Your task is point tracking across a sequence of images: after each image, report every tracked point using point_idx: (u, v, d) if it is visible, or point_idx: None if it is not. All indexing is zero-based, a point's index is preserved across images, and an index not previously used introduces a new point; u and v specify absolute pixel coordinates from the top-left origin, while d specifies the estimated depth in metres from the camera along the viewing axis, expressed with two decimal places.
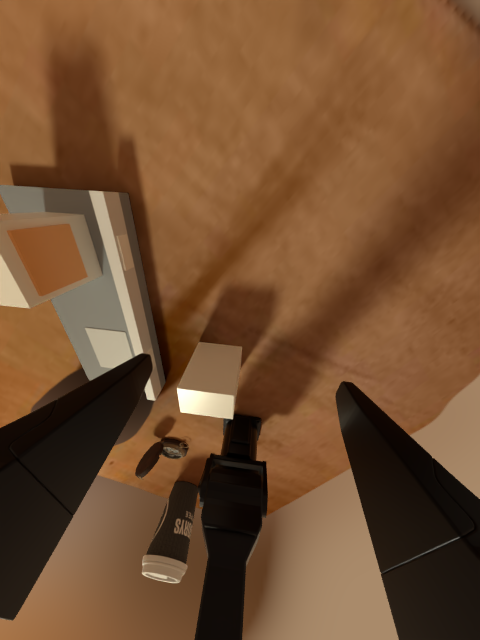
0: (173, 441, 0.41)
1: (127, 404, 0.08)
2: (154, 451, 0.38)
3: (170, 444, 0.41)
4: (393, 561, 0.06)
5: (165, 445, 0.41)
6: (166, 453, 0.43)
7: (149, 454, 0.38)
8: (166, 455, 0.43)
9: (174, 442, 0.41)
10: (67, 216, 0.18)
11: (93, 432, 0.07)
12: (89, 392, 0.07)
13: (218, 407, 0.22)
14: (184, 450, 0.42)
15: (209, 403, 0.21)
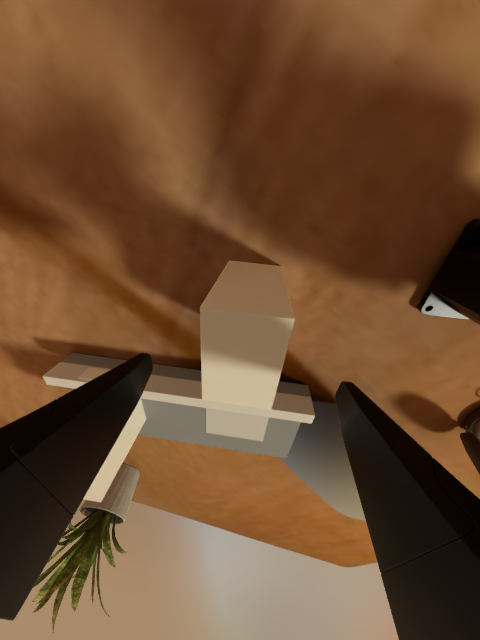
0: (477, 413, 0.20)
1: (127, 404, 0.08)
2: (472, 454, 0.19)
3: None
4: (393, 561, 0.06)
5: (479, 429, 0.20)
6: None
7: (476, 464, 0.19)
8: None
9: None
10: None
11: (93, 432, 0.07)
12: (89, 392, 0.07)
13: (248, 344, 0.09)
14: None
15: (237, 359, 0.10)
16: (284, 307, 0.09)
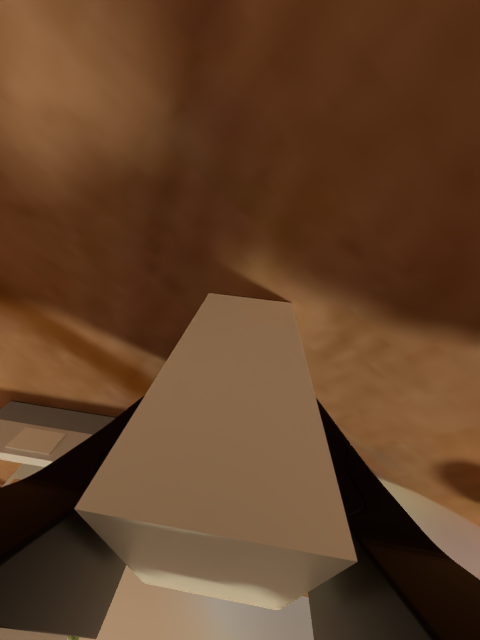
0: None
1: None
2: None
3: None
4: None
5: None
6: None
7: None
8: None
9: None
10: (15, 473, 0.16)
11: None
12: None
13: (222, 564, 0.04)
14: None
15: (200, 570, 0.04)
16: (315, 473, 0.04)
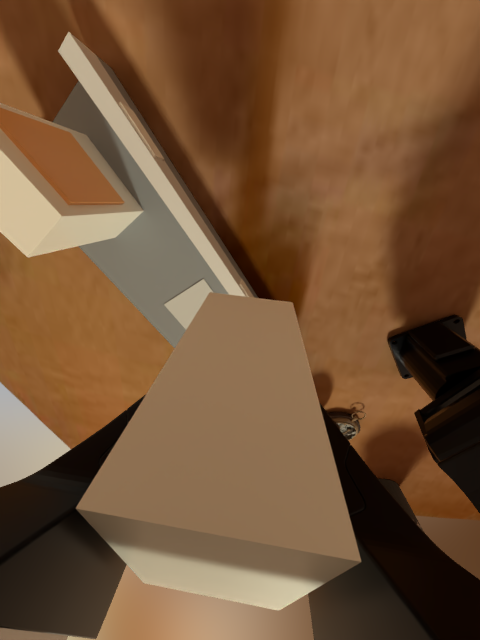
0: (339, 413, 0.29)
1: None
2: None
3: (337, 418, 0.29)
4: None
5: None
6: None
7: None
8: None
9: (342, 414, 0.29)
10: (65, 129, 0.14)
11: None
12: None
13: (224, 564, 0.04)
14: (358, 424, 0.29)
15: (201, 571, 0.04)
16: (318, 473, 0.03)
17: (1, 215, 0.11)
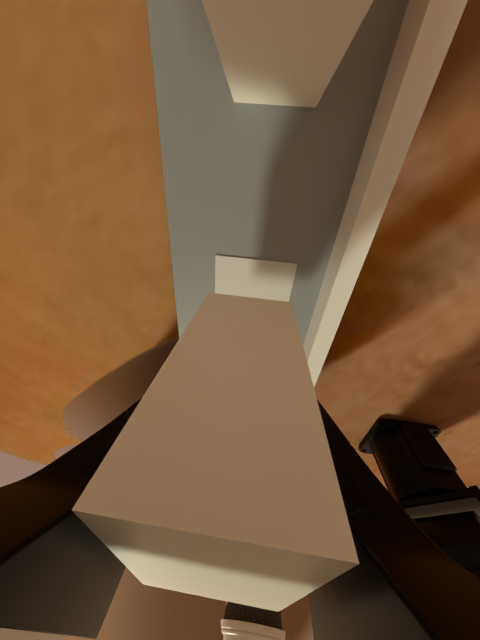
0: None
1: None
2: None
3: None
4: None
5: None
6: None
7: None
8: None
9: None
10: None
11: None
12: None
13: (222, 565, 0.04)
14: None
15: (199, 571, 0.04)
16: (316, 473, 0.03)
17: None
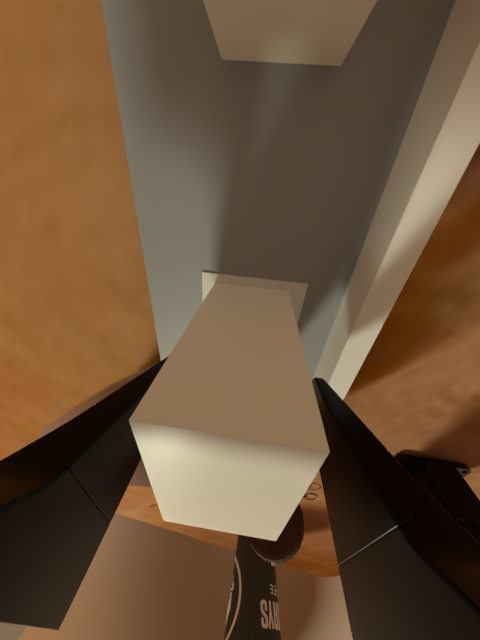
0: None
1: None
2: None
3: None
4: (348, 553, 0.06)
5: None
6: None
7: None
8: None
9: None
10: None
11: (129, 438, 0.07)
12: (125, 398, 0.07)
13: (233, 475, 0.05)
14: None
15: (214, 490, 0.05)
16: (303, 405, 0.05)
17: None
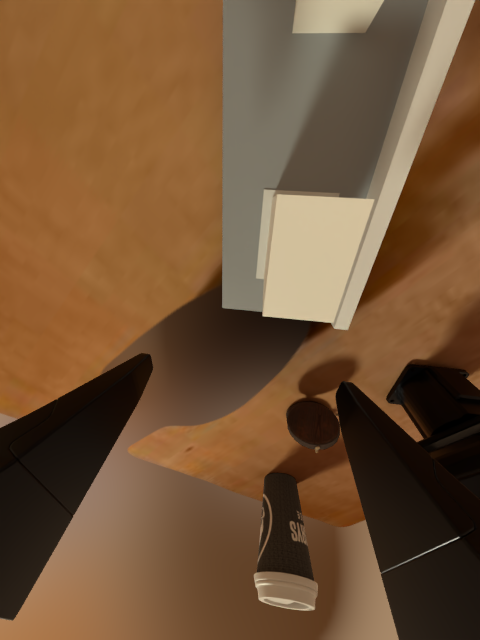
0: None
1: (127, 404, 0.08)
2: (326, 415, 0.25)
3: None
4: (394, 561, 0.06)
5: None
6: None
7: (314, 417, 0.25)
8: None
9: None
10: None
11: (93, 432, 0.07)
12: (89, 392, 0.07)
13: (320, 238, 0.09)
14: None
15: (306, 260, 0.10)
16: None
17: None
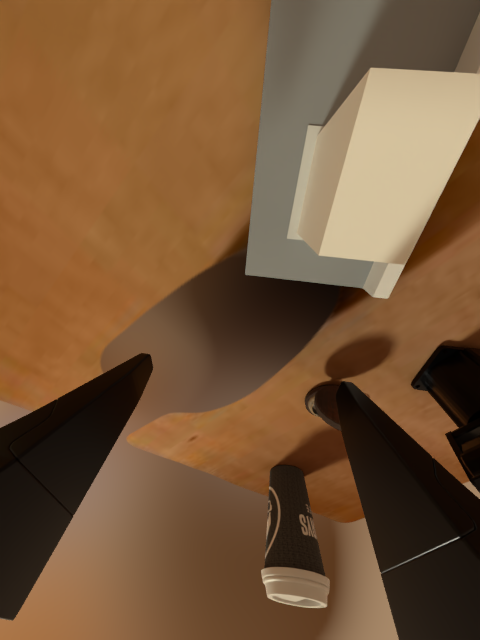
0: None
1: (127, 404, 0.08)
2: None
3: None
4: (393, 561, 0.06)
5: None
6: None
7: None
8: None
9: None
10: None
11: (93, 432, 0.07)
12: (89, 392, 0.07)
13: (415, 138, 0.07)
14: None
15: (389, 172, 0.08)
16: None
17: None
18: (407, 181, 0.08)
